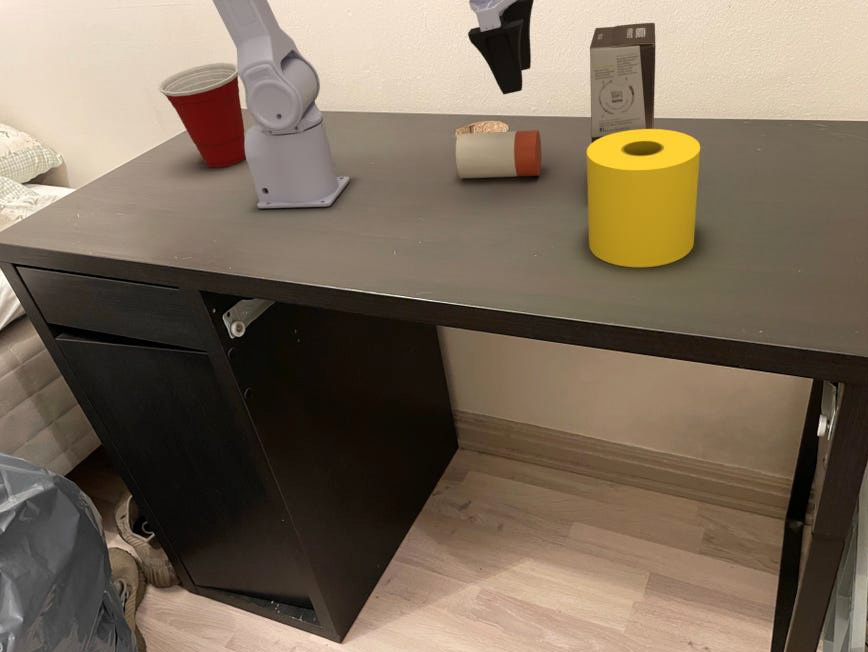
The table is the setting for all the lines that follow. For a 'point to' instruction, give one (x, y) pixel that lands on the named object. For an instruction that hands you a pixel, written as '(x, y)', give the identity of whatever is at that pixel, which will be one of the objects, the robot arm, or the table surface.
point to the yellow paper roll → (642, 196)
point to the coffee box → (622, 79)
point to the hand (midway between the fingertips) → (517, 80)
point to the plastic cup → (210, 110)
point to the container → (498, 154)
